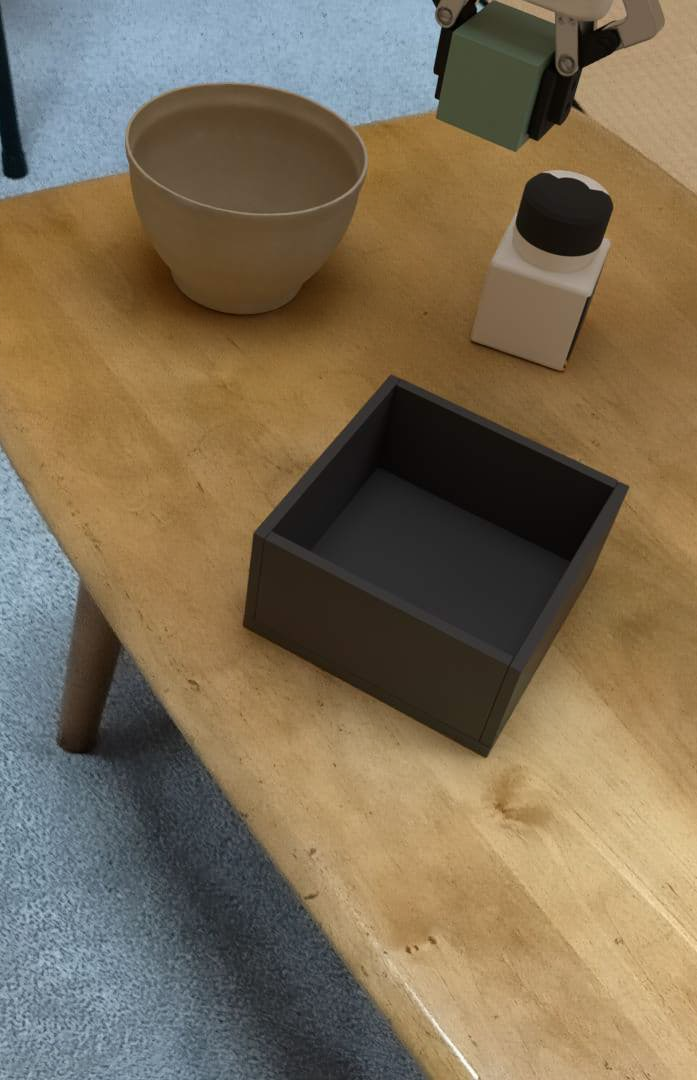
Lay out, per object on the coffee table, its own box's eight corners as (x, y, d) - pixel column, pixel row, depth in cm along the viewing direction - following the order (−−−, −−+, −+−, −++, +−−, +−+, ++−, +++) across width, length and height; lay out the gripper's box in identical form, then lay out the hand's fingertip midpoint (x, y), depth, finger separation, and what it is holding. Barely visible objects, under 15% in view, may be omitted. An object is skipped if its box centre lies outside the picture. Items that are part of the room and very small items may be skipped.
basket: (590, 575, 76) (630, 485, 70) (486, 758, 66) (521, 672, 60) (371, 467, 79) (391, 373, 73) (242, 626, 70) (252, 532, 64)
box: (552, 116, 70) (576, 31, 66) (515, 153, 67) (538, 66, 63) (474, 84, 71) (493, -1, 67) (434, 118, 68) (452, 31, 64)
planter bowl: (364, 348, 87) (388, 217, 79) (130, 348, 84) (130, 211, 75) (331, 212, 97) (349, 84, 89) (121, 208, 94) (120, 74, 86)
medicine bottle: (563, 374, 88) (612, 232, 79) (468, 342, 89) (506, 198, 80) (585, 318, 92) (634, 178, 83) (494, 287, 93) (533, 146, 84)
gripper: (790, -223, 55) (660, 140, 69) (455, -331, 60) (395, 32, 73) (739, -181, 51) (611, 199, 64) (380, -301, 55) (330, 80, 68)
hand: (497, 107), depth 69 cm, fingers closed on box, 5 cm apart
